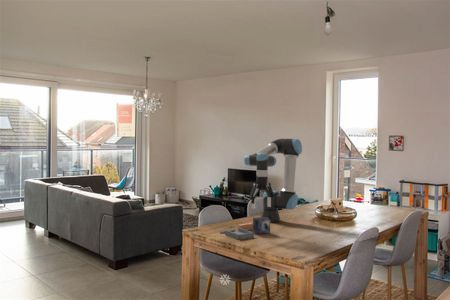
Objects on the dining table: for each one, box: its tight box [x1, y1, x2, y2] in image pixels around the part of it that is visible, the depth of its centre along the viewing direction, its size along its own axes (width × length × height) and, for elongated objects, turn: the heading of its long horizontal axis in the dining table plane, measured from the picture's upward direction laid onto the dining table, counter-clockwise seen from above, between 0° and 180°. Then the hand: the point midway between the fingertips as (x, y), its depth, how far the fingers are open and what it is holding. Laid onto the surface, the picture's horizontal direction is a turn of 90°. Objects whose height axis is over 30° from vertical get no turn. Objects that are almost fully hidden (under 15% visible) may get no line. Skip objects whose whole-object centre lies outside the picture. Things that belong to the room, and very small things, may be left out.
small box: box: [252, 216, 271, 236], centre depth 263 cm, size 11×6×10 cm, turn 105°
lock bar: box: [237, 222, 253, 231], centre depth 272 cm, size 13×3×4 cm, turn 126°
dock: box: [219, 227, 255, 241], centre depth 258 cm, size 12×21×3 cm, turn 36°
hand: (261, 207), depth 262 cm, fingers open, 13 cm apart
